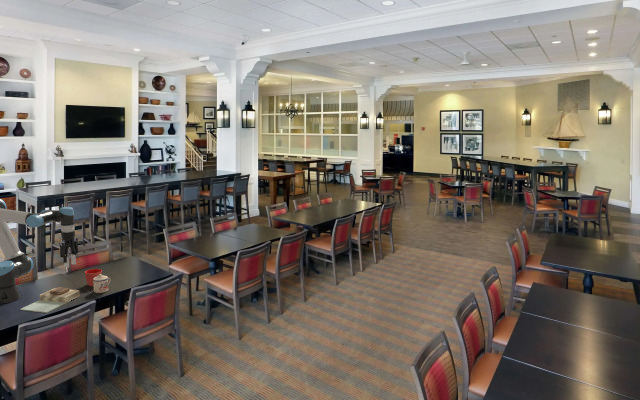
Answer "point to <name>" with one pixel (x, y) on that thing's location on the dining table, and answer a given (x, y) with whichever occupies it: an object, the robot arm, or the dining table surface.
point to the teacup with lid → (101, 283)
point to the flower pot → (92, 275)
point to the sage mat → (43, 306)
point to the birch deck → (60, 296)
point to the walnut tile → (59, 291)
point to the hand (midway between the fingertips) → (70, 265)
